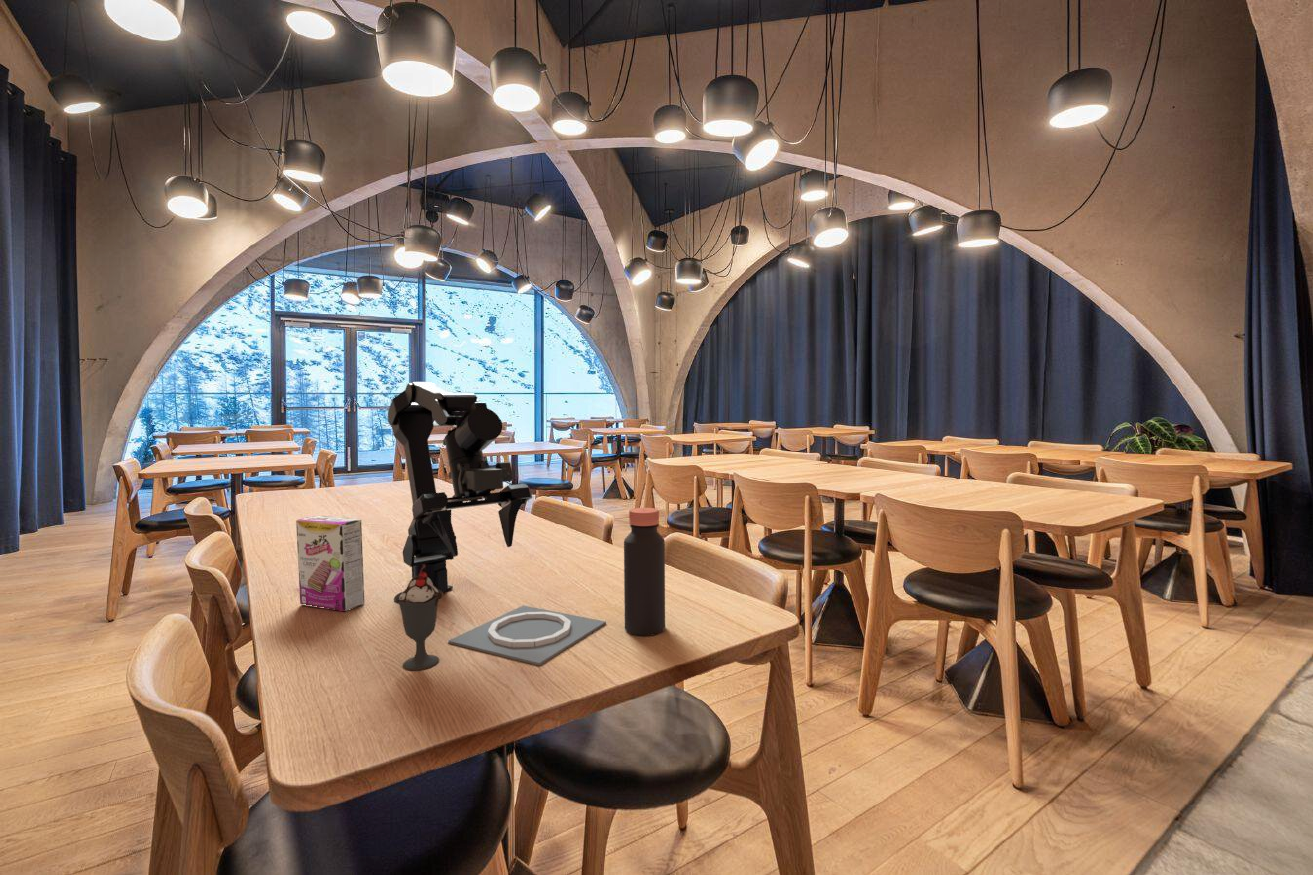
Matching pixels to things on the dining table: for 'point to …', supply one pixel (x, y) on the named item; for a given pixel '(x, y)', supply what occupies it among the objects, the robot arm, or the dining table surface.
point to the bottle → (644, 574)
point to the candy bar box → (330, 562)
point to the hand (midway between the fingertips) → (483, 551)
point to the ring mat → (528, 634)
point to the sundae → (419, 617)
